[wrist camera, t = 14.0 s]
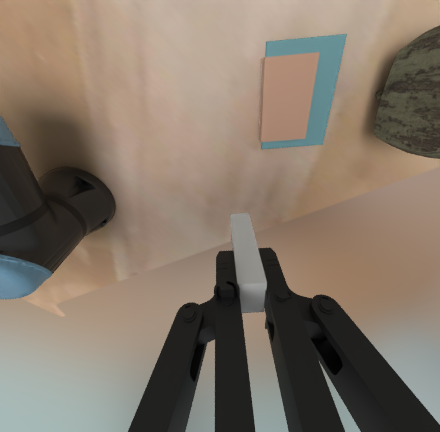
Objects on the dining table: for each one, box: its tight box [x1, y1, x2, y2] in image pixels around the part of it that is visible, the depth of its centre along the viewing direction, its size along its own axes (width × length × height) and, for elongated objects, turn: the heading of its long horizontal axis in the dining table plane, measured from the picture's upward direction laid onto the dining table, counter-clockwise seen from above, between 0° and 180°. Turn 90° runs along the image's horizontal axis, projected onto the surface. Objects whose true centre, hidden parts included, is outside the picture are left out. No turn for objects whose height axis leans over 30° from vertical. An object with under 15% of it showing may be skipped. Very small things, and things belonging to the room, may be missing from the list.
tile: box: [259, 52, 320, 142], centre depth 32 cm, size 2×12×8 cm
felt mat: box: [261, 34, 347, 149], centre depth 33 cm, size 12×16×1 cm
